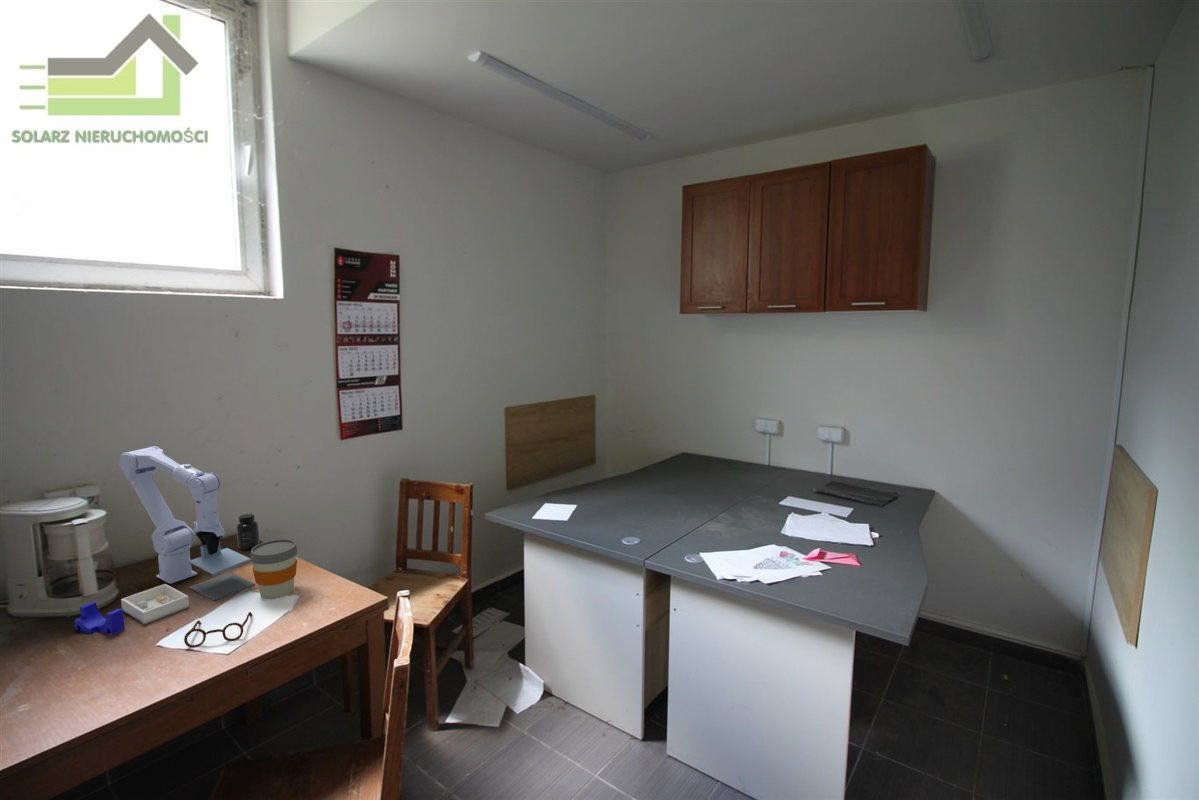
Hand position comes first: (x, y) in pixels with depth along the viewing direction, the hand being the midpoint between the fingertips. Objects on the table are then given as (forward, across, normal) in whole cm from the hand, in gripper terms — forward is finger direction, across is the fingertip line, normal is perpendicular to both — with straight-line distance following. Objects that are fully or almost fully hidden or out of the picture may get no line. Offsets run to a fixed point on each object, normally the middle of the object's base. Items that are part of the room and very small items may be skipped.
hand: (211, 552), depth 177 cm
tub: (+10, +3, -17) cm, 20 cm away
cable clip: (+10, +3, -30) cm, 32 cm away
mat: (+10, +5, 0) cm, 11 cm away
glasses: (+11, +31, -13) cm, 35 cm away
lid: (+2, +5, 0) cm, 5 cm away
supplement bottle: (+10, -19, +21) cm, 30 cm away
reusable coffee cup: (+11, +23, +7) cm, 26 cm away
